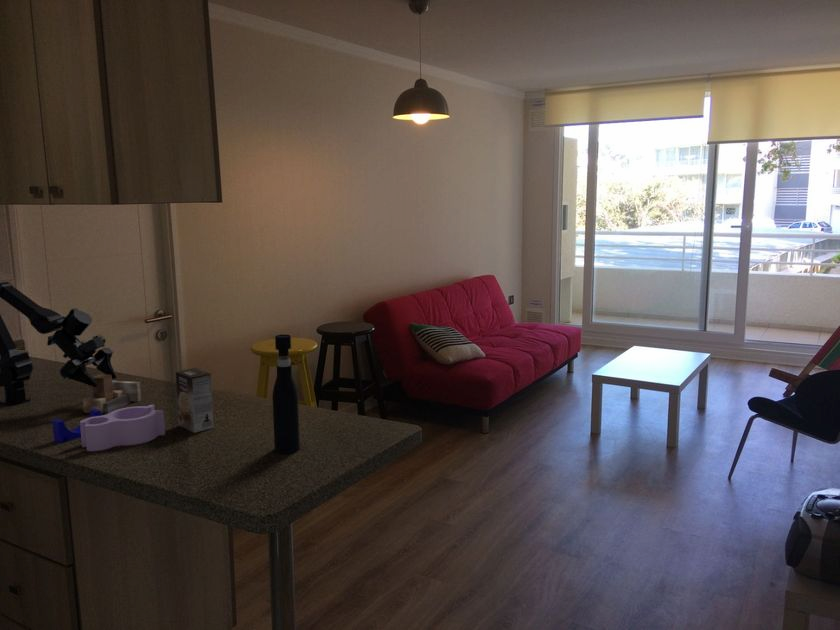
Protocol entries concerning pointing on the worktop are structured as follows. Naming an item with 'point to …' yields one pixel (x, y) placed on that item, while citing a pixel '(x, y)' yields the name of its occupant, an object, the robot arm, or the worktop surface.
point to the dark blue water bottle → (285, 401)
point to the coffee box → (194, 399)
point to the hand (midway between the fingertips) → (106, 382)
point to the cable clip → (64, 434)
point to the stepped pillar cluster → (115, 397)
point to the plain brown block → (103, 387)
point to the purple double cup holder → (122, 427)
